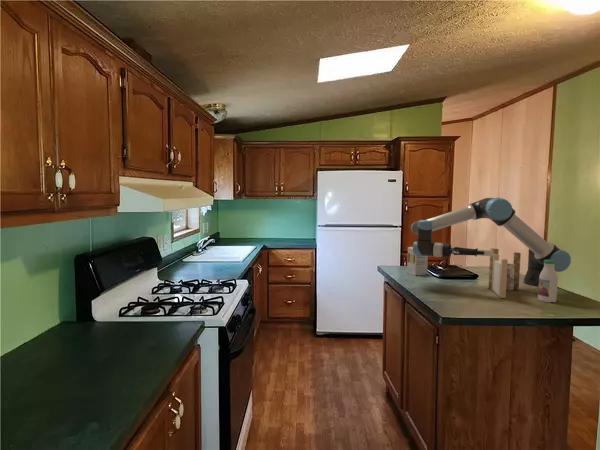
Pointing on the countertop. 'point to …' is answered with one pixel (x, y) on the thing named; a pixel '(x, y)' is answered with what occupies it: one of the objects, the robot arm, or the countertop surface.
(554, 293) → the milk bottle
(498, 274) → the gate
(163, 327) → the countertop surface
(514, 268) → the gate post and fence
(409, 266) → the supplement box
